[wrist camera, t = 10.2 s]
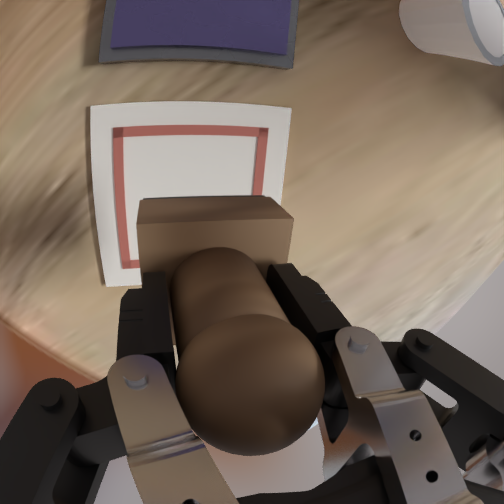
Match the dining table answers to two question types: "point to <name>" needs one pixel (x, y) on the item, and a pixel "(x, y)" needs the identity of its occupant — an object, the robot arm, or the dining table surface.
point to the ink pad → (200, 31)
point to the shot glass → (456, 28)
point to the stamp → (231, 320)
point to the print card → (177, 163)
